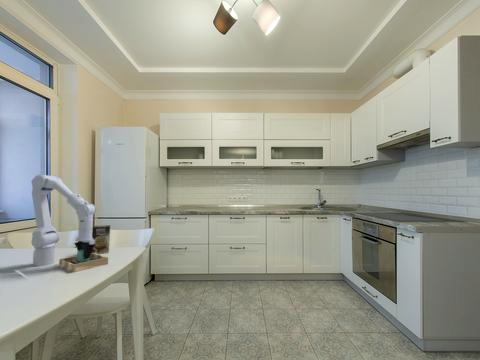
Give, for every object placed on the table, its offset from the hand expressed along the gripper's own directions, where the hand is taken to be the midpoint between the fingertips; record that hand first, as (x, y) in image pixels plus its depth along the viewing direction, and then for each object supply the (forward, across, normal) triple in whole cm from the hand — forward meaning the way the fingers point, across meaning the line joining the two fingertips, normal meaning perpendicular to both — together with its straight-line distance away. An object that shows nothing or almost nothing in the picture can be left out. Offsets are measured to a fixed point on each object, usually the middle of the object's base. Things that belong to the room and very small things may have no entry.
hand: (84, 257), depth 114 cm
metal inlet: (+4, 0, 0) cm, 4 cm away
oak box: (+4, 0, 0) cm, 4 cm away
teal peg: (+4, 0, 0) cm, 4 cm away
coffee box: (+5, -18, +16) cm, 24 cm away
